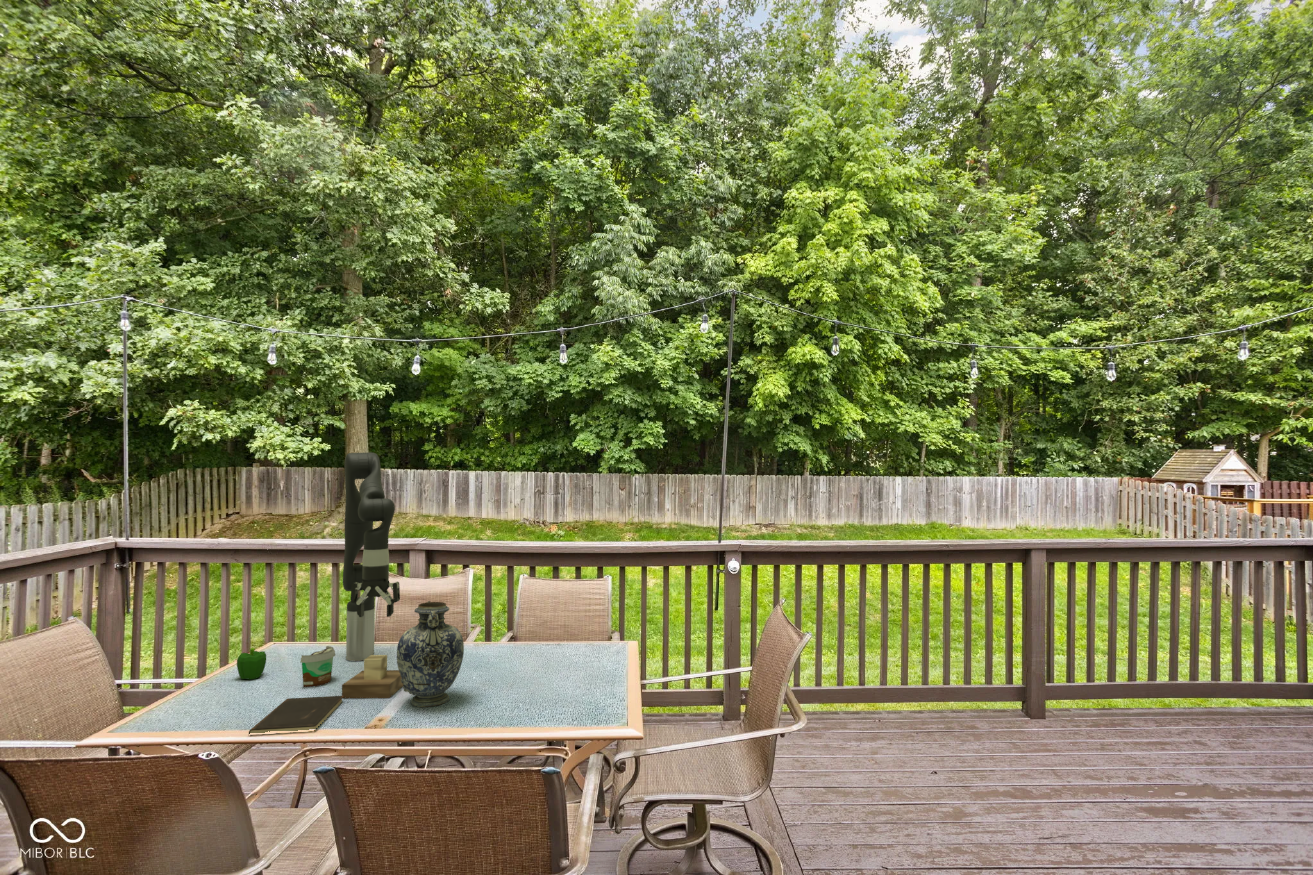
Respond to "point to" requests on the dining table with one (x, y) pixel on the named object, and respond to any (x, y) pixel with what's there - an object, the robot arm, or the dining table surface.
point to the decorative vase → (430, 656)
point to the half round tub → (317, 667)
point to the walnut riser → (372, 686)
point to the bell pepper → (251, 664)
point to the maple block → (375, 667)
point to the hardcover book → (298, 714)
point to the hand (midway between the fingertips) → (375, 616)
